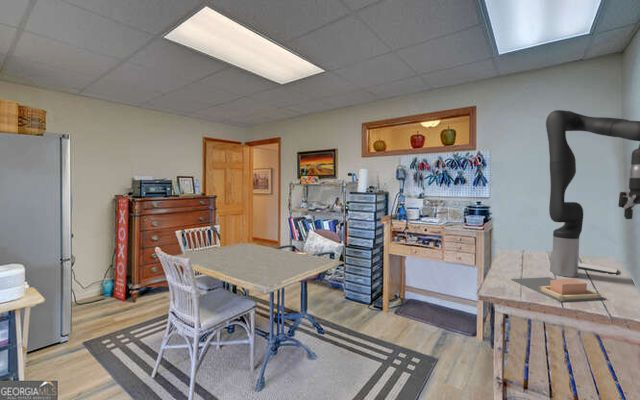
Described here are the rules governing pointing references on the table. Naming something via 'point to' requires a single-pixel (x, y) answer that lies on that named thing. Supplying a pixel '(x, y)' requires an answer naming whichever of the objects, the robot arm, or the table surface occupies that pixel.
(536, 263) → the table surface
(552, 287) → the terracotta block
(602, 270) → the phone case
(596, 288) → the table surface
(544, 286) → the mat
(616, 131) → the robot arm
